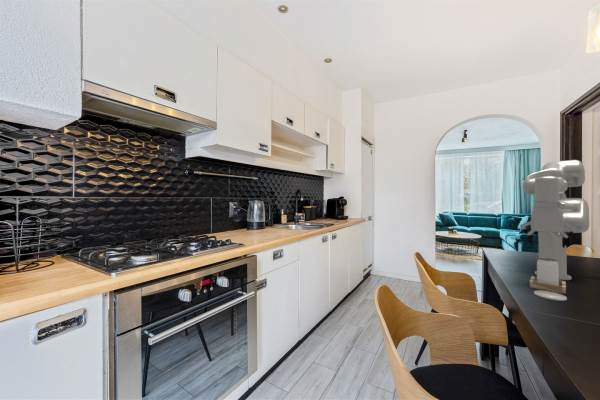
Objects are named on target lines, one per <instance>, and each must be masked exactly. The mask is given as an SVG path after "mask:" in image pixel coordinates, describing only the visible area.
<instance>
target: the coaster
mask: <svg viewBox="0 0 600 400" xmlns="http://www.w3.org/2000/svg"><path fill="white" fill-rule="evenodd" d="M533 294H534V295H535V296H537V297H539V298H543V299H546V300H551V301H560V302H565V301H567V300H568V298H567V297H568V296H565V294H564V295H563V294H562V293H558V292H552V291H547V290H541V289H537V290H534V291H533Z"/></svg>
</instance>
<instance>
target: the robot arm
mask: <svg viewBox="0 0 600 400" xmlns="http://www.w3.org/2000/svg"><path fill="white" fill-rule="evenodd" d="M585 170H586V169H585V165H584V164H583V162H582V161H581V160H578V159H570V160H557V161H556V160H555V161H550V162H547V163H545V164H544V165H543V166H542V167H541V170H540V171H536V172H533V173H531V174H528V175H527V176H526V177H525V178H524V179H523V182H522V190H523V193H524V194H527V195H534V208H532V211H531V215H530V221H527V222H524V223H522V224H520V225H519V227H520V228H521V230H522V231H523V232H524V233H525V234H526V235H527V236H528V237H527V238H528V243H530V245H534V233H535V232H537V233H538V234H537V235H538V258H549V259H554V260H557V263H558V281H570V280H572V276H571V275H569V274H568V273H567V272H568V270H567V268H568V267H567V261H568V260H567V258H568V257H567V255H568V254H567V246H568V238H569V237H571V236H573V235H574V234H578V233H585V232H587V231H588V230H589V228H590V207H589V203H588V201H587V200H585V199H584V198H580V197H579V198H578V197H567V195H566V193H565V192H566V191H568V188H574V187H575V188H576V187H577V188H578V187H581V186H583V185H584V183H586V182H585V181H586V174H585V173H586V172H585ZM527 226H530V230H528V228H526V227H527ZM534 274H535V275H536V276H537V270H535V271H534Z"/></svg>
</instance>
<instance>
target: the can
mask: <svg viewBox="0 0 600 400" xmlns="http://www.w3.org/2000/svg"><path fill="white" fill-rule="evenodd" d="M536 271H537V275H536V277H537V282H539V283H545V284H551V285H557V286H559V282H558V281H559V280H558V263H557V260H554V259H549V258H539V257H538V258H537V261H536Z"/></svg>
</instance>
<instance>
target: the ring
mask: <svg viewBox="0 0 600 400" xmlns="http://www.w3.org/2000/svg"><path fill="white" fill-rule="evenodd" d="M558 282H559V286H557V285H551V284H545V283H539V282H537V276H532V275H531V277H530V279H529V288H531V289H537V290H541V291H549V292H554V293H558V294H562V295H563V294H564V295H566V293H567V284H566V280H558Z"/></svg>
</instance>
